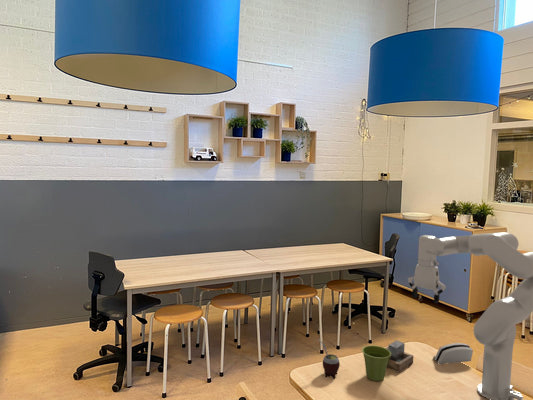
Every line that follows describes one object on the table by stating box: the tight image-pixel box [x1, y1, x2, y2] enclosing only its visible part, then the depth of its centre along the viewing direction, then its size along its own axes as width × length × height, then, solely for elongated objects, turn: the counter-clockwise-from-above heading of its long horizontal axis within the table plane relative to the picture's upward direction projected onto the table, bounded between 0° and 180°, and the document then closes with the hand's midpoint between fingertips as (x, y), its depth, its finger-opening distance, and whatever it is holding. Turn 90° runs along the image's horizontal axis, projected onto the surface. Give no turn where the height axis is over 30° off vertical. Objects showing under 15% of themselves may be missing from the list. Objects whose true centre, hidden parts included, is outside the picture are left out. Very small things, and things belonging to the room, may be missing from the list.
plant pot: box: [361, 345, 391, 382], centre depth 168 cm, size 12×12×11 cm
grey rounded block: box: [432, 342, 474, 365], centre depth 183 cm, size 17×5×10 cm, turn 102°
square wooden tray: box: [385, 345, 414, 373], centre depth 181 cm, size 12×12×4 cm
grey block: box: [388, 339, 405, 363], centre depth 181 cm, size 6×7×8 cm
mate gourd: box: [317, 339, 341, 380], centre depth 169 cm, size 8×8×15 cm
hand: (425, 300), depth 181 cm, fingers open, 9 cm apart
